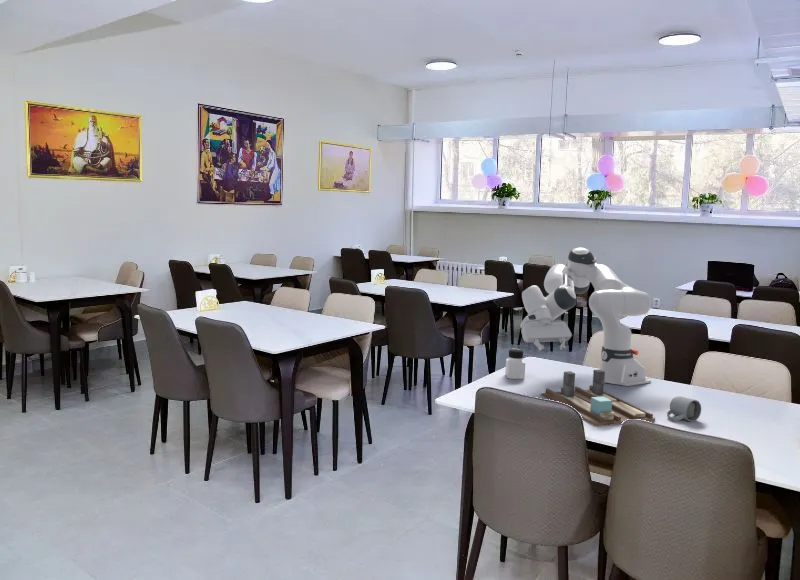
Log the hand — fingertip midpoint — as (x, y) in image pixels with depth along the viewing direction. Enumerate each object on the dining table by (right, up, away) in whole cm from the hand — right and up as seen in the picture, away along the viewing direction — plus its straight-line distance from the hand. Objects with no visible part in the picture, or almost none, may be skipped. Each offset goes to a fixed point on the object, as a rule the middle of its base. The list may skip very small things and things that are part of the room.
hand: (552, 349), depth 252 cm
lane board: (+12, -20, -16) cm, 28 cm away
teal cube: (+10, -19, -29) cm, 36 cm away
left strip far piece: (+21, -20, -22) cm, 36 cm away
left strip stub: (+17, -18, -9) cm, 26 cm away
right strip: (+7, -19, -20) cm, 29 cm away
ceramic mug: (+39, -22, -25) cm, 52 cm away
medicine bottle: (-11, -14, +24) cm, 30 cm away
